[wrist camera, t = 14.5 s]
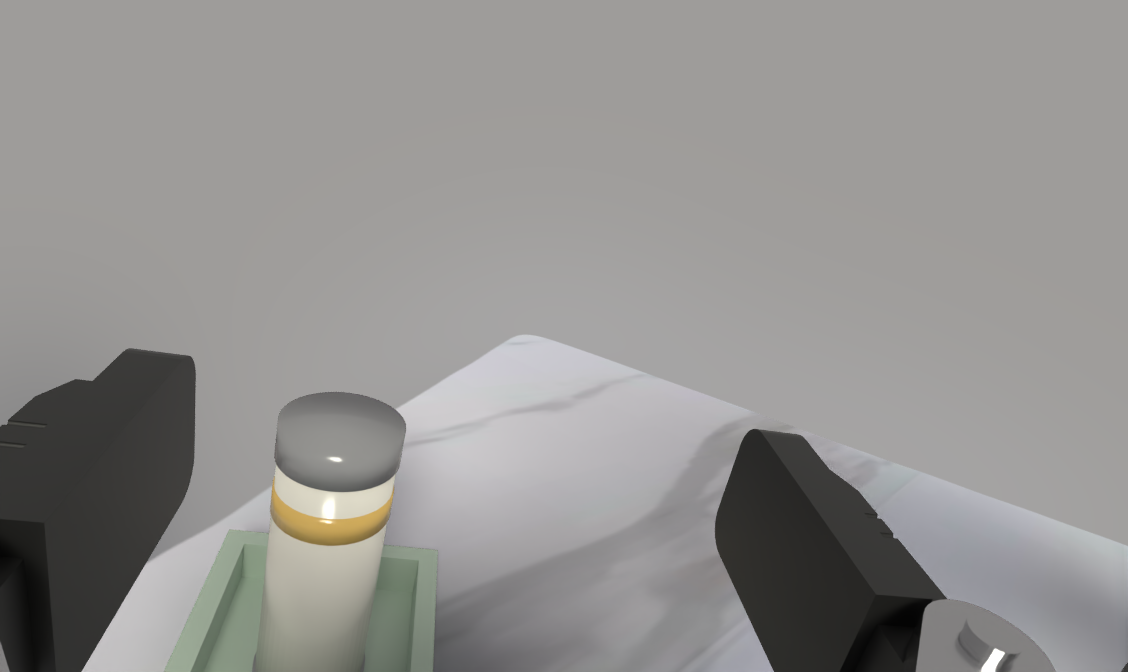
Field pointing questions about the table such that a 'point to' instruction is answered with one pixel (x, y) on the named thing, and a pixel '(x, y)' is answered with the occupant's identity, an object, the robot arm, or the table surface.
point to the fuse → (326, 531)
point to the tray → (234, 596)
